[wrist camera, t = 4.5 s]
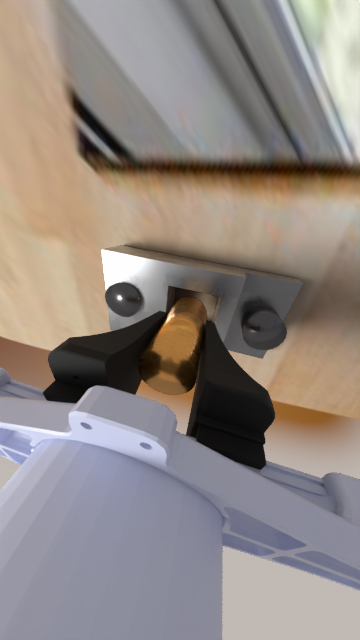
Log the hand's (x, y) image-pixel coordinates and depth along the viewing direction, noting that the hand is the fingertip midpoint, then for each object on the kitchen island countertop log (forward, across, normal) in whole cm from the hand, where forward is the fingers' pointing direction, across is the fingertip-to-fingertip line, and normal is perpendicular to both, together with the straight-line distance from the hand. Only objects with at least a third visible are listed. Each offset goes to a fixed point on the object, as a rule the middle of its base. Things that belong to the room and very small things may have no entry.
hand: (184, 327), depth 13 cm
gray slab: (+5, 0, 0) cm, 5 cm away
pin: (+2, 0, 0) cm, 2 cm away
